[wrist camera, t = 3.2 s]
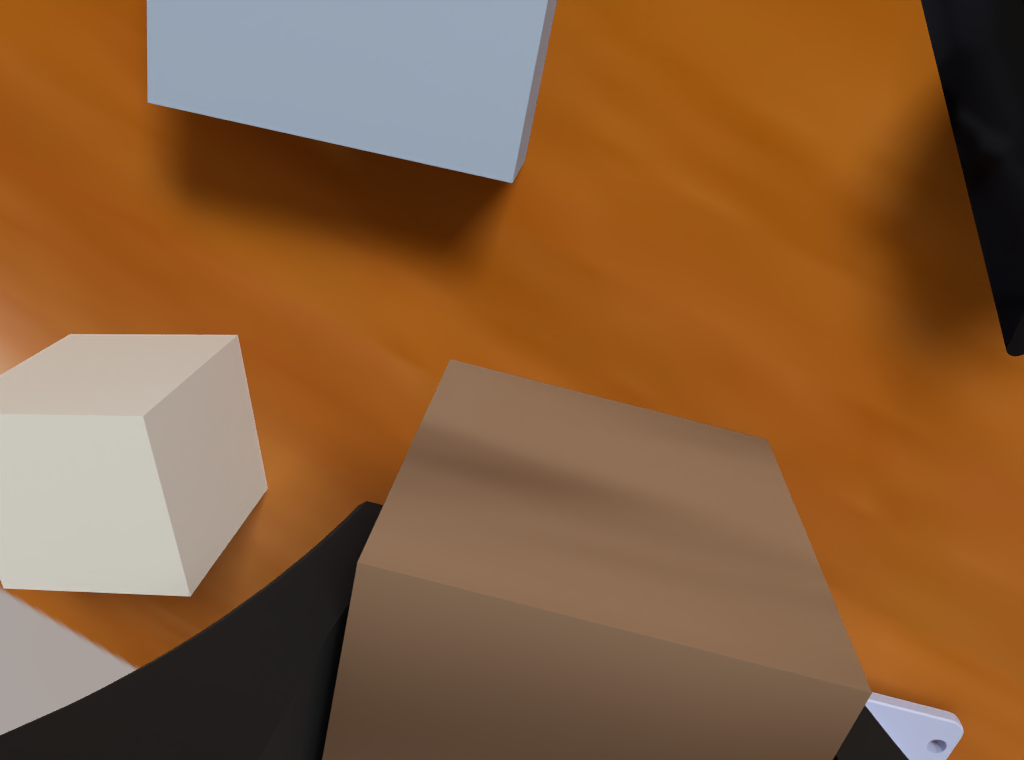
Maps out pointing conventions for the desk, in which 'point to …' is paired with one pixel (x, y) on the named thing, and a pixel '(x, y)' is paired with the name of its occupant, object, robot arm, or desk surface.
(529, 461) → the walnut cube
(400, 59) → the blue slab
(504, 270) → the desk surface
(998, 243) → the black rectangular box
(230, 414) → the cream cube
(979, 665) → the desk surface
